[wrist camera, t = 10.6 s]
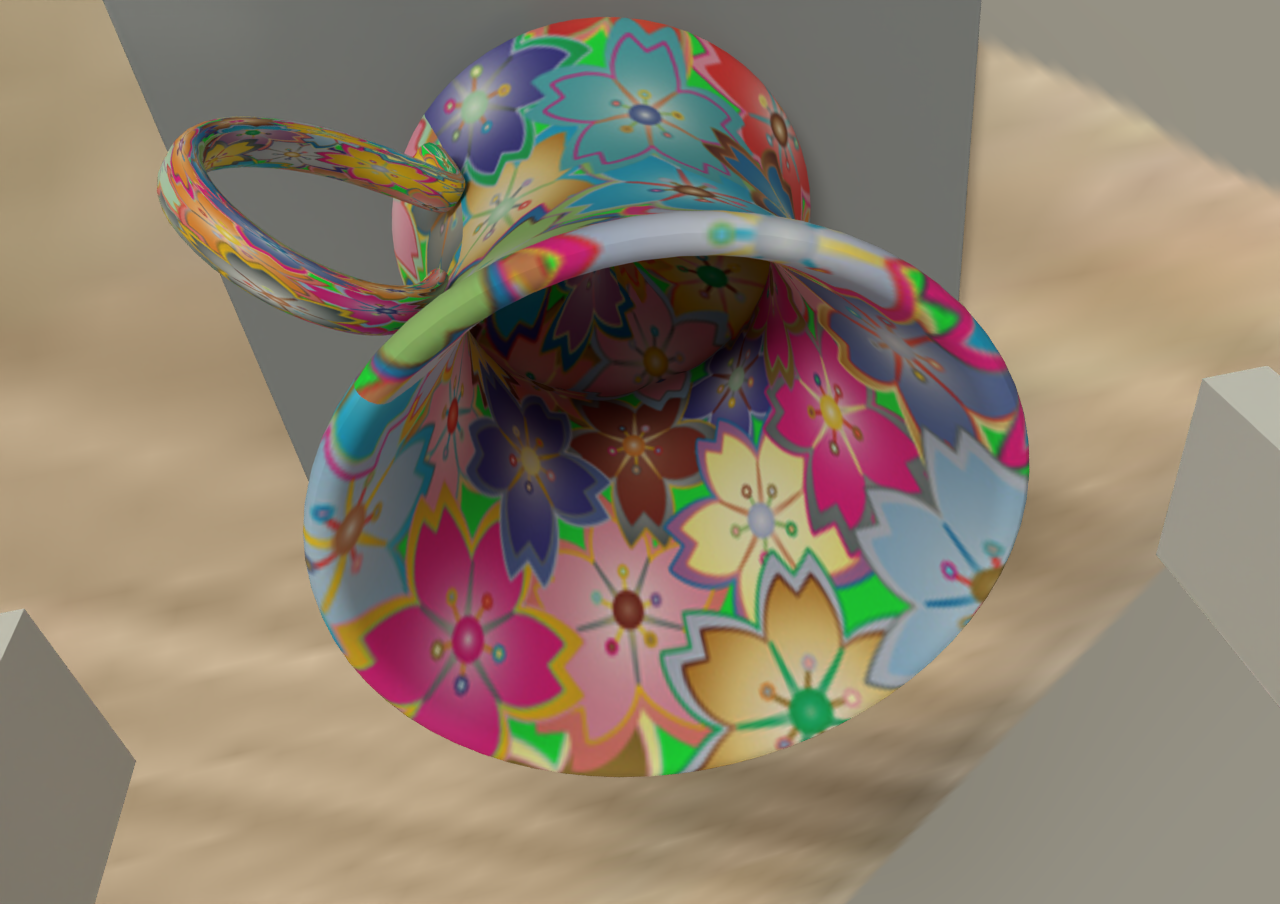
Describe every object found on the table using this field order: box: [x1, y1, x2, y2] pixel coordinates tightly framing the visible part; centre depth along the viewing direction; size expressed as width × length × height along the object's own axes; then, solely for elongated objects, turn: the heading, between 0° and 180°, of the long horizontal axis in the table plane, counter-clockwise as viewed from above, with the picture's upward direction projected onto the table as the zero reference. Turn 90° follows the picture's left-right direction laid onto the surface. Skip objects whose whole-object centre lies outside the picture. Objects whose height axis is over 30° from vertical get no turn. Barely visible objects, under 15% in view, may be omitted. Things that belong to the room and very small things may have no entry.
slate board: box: [103, 0, 981, 481], centre depth 21 cm, size 16×16×1 cm
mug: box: [157, 17, 1029, 777], centre depth 17 cm, size 12×9×11 cm
